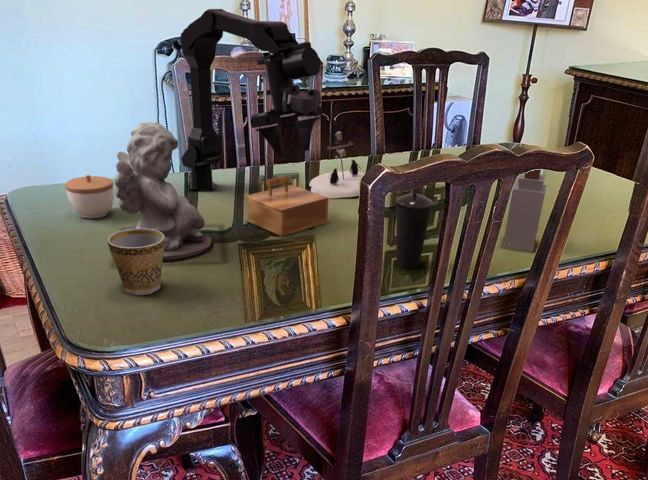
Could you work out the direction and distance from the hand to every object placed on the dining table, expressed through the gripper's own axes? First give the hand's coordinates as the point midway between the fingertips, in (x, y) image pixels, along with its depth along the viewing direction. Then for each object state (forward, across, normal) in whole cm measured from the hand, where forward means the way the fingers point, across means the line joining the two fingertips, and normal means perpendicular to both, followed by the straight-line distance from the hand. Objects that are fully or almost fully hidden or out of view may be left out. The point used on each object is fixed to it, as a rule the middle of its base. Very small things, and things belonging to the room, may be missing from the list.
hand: (294, 153), depth 150 cm
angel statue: (+13, -32, +10) cm, 36 cm away
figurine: (+14, +27, +10) cm, 32 cm away
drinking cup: (+25, -5, -32) cm, 41 cm away
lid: (+10, -4, +1) cm, 11 cm away
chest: (+15, -4, +2) cm, 16 cm away
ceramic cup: (+16, -49, -1) cm, 52 cm away
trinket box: (+6, -33, +38) cm, 51 cm away
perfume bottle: (+28, +22, -44) cm, 57 cm away
